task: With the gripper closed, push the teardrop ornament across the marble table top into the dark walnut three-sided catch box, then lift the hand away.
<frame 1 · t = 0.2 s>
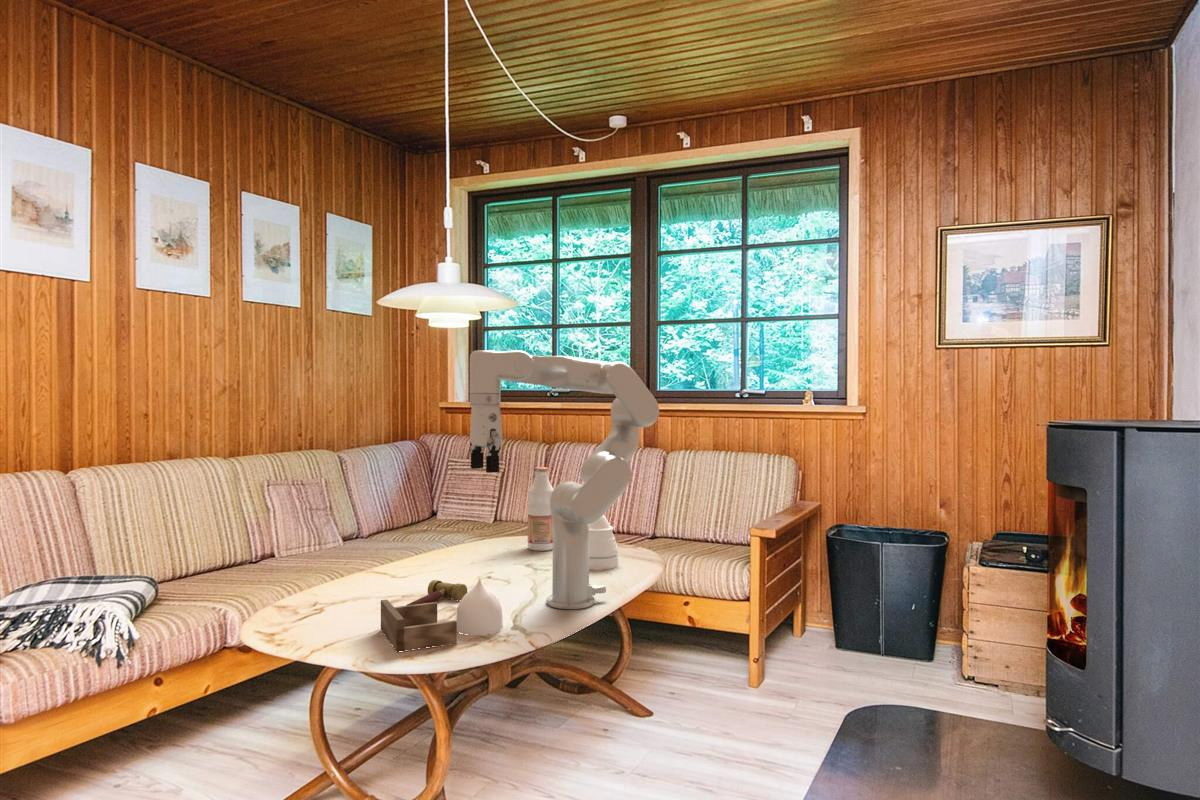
hand: (484, 470, 195), 36 cm above the table, tool pointing down, fingers open, 9 cm apart
catch box: (417, 636, 179), on the table
fruit juice: (541, 548, 274), on the table
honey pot: (598, 565, 250), on the table
gavel: (427, 607, 204), on the table
teardrop: (479, 629, 185), on the table
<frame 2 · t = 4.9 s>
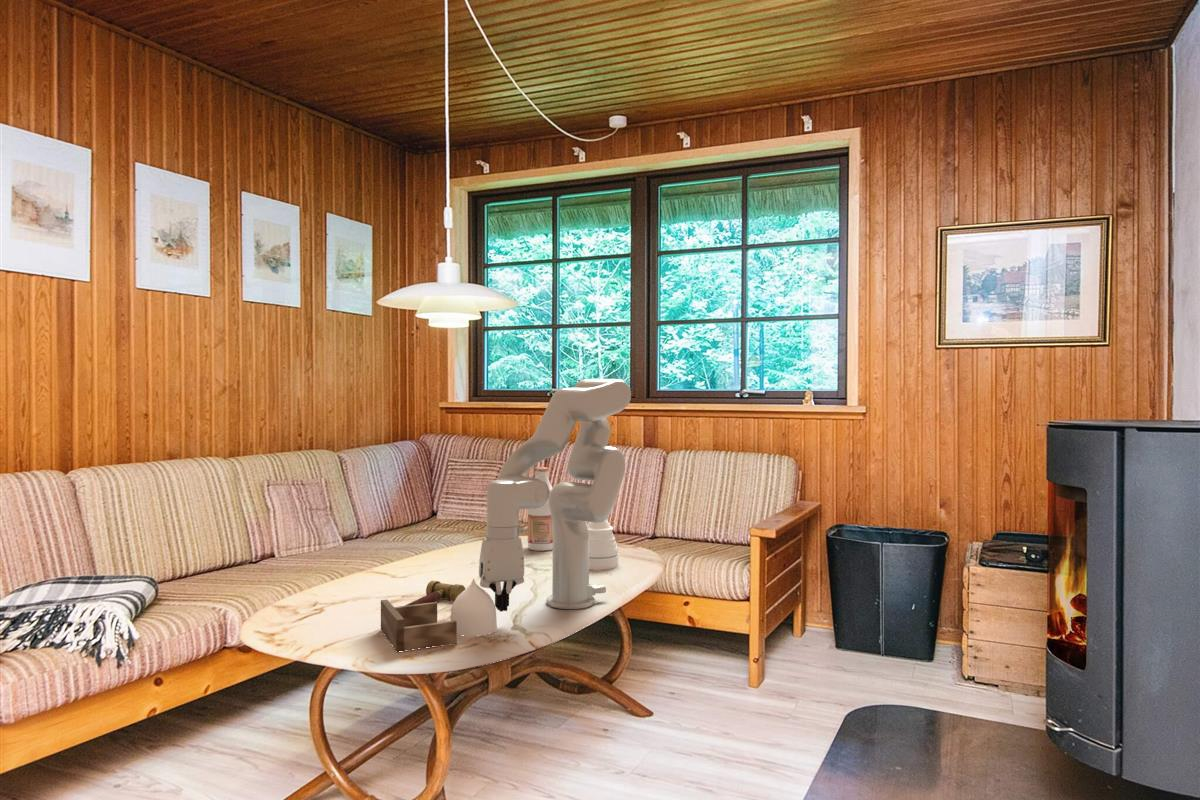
hand: (501, 609, 187), 4 cm above the table, tool pointing down, fingers closed
teardrop: (473, 630, 185), on the table, touching gripper
everything else where it was.
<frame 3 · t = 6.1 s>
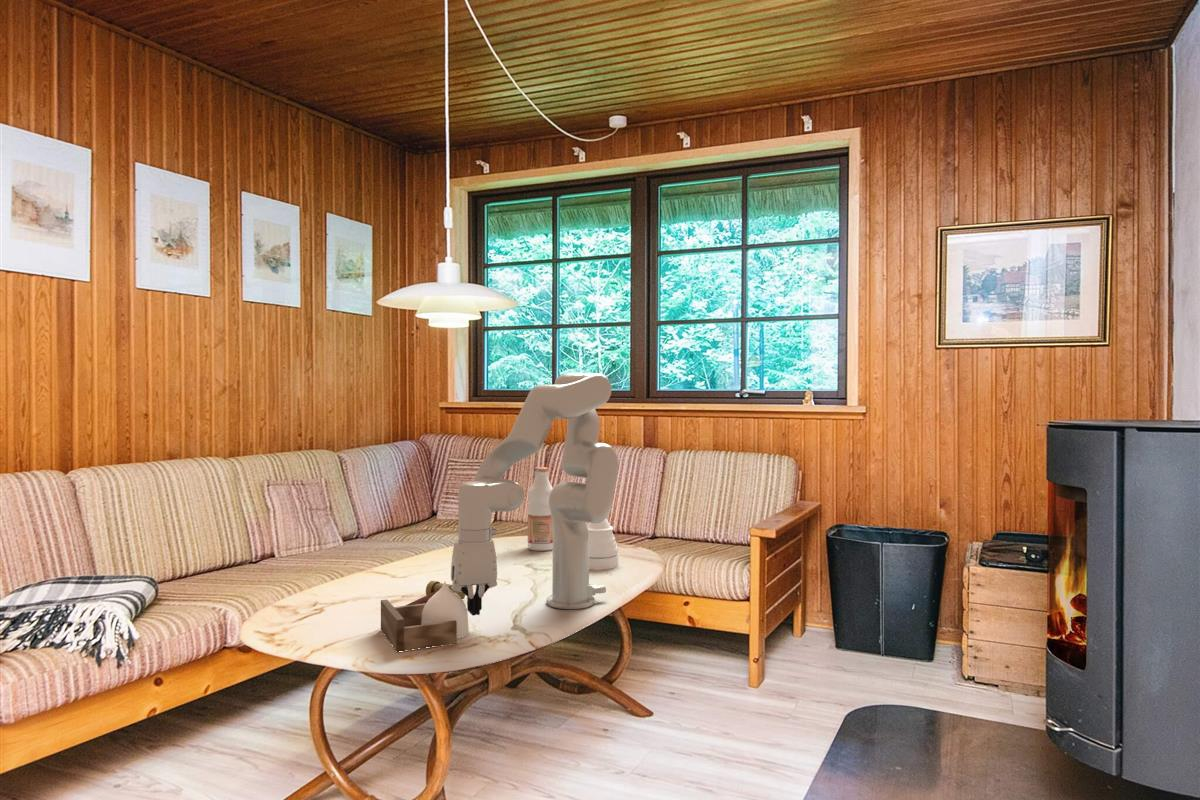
hand: (474, 613, 184), 4 cm above the table, tool pointing down, fingers closed
teardrop: (444, 633, 182), on the table, touching gripper
everything else where it was.
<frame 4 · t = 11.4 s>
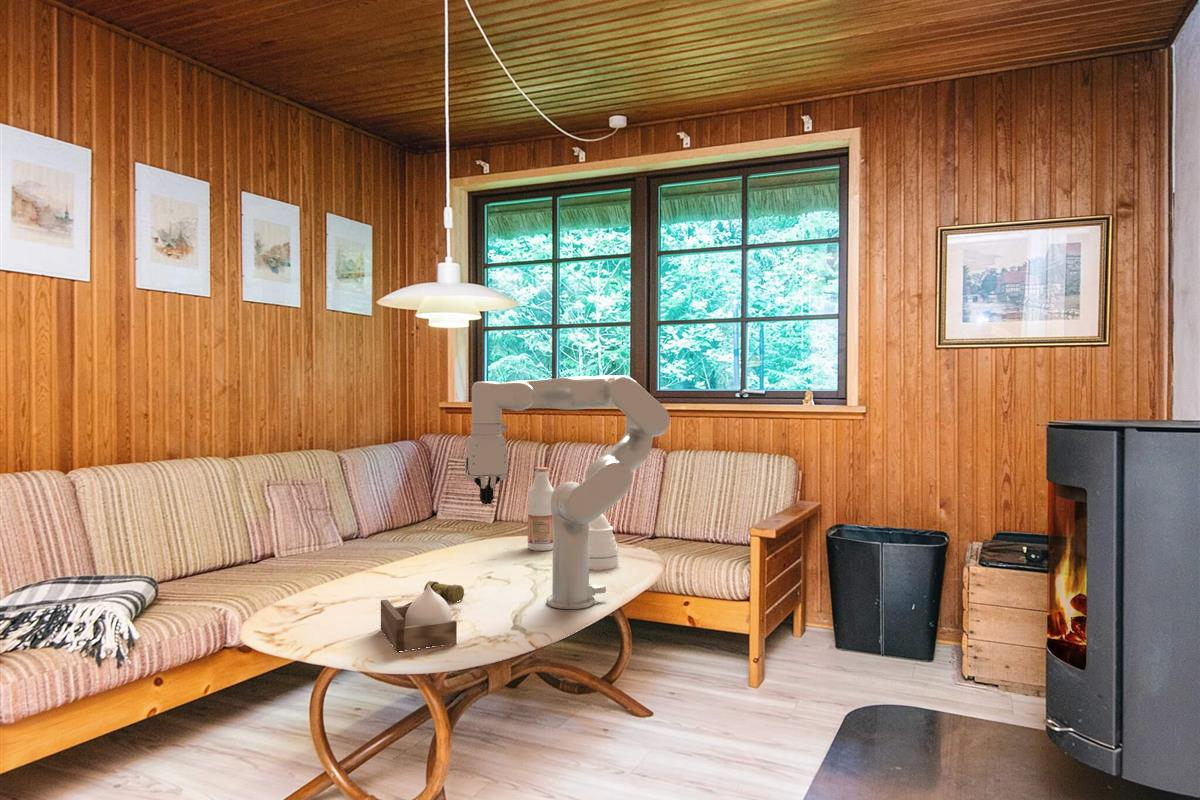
hand: (486, 503, 199), 27 cm above the table, tool pointing down, fingers closed
teardrop: (428, 636, 180), on the table
at the end: teardrop inside the target area (1.8 cm from its centre), on the table; teardrop moved 12.0 cm from its start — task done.
